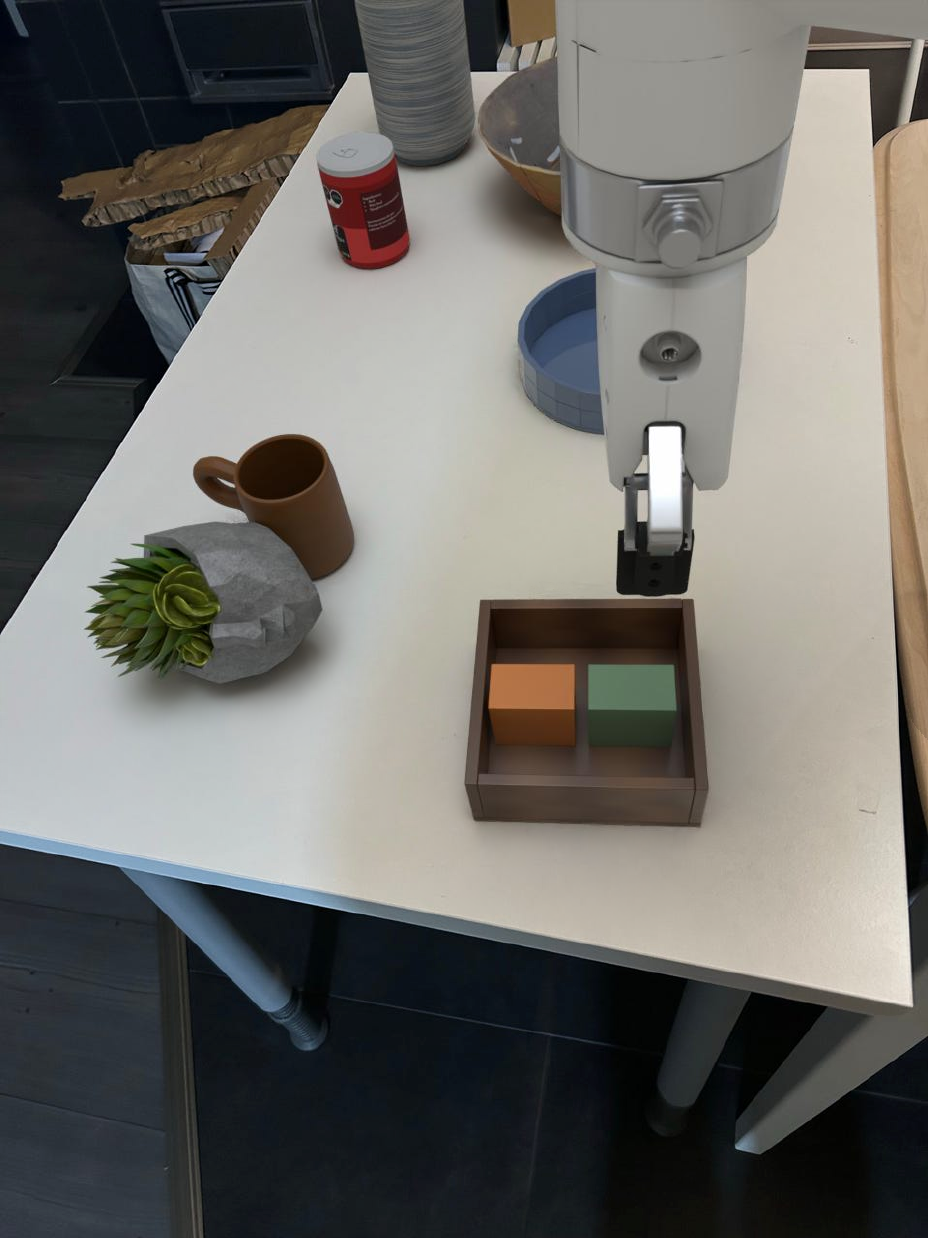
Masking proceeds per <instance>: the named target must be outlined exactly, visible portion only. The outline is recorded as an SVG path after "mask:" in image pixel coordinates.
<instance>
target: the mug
mask: <svg viewBox="0 0 928 1238" xmlns="http://www.w3.org/2000/svg"><path fill="white" fill-rule="evenodd" d="M192 477H193V479H194V482H195V484H196V486H197V487H198V489H199V490H200V491H201V492H202V493H203V494H204V495H205V496H207V497H208V498H209V499H210V500H212V501H213V502H214V503H217V504H219V505H221V506H224V507H226V508H230V509H232V510H233V509H234V510H238V511H239V512H242V513H243V514H244V515H245V516H246V519H247V522H255V523H258V524H260V525H263V526H265V527H267V528H269V529H270V530H271V531H272V532H273V533H275V534H276V535H277V536H278V537H279V538H280V539H281V540H282V541H283V542H285V543H286V544H287V545H288V546H289V547H290V548H291V549H292V550H293V552H294V553H295V555H296V556H297V558H298V559H299V561H300V563H301V564H302V566H303V567H304V569H305V570H306V572H307V574H308V575H309V577H310V579H311V580H313V579H317V578H321V577H324V576H326V575H329V574H330V573H332V572H333V571H335V570H337V569H338V568H340V566H341V565H342V564H343V563H345V561H346V560H347V559H348V557H349V555H350V554H351V552H352V549H353V547H354V540H355V533H354V528H353V524H352V521H351V518H350V514H349V510H348V508H347V503H346V501H345V498H344V494H343V492H342V488H341V486H340V482H339V479H338V476H337V472H336V469H335V466H334V465H333V463H332V460H331V459H330V455H329V453H328V451H327V450H326V448H325V447H324V445H322V444H321V443H320V442H319V441H317V439H314V438H312V437H310V436H307V435H304V434H299V433H298V434H297V433H285V434H278V435H273V436H271V437H267V438H265V439H263V440H260V441H259V442H257V443H256V444H253V445H252V446H251V447H249V448H248V449H247V450H246V451H245V452H244V453H243V454H242V455H241V456H240V458H239V459H238V461H237V462H235V461H232V460H229V459H227V458H225V457H221V456H216V455H209V456H204V457H201V458H199V459H198V461H196V462H195V464H194V465H193V469H192ZM225 482H227V483H229V484H232V485H234V486H230V485H229V484H226V483H225Z"/></svg>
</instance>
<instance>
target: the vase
mask: <svg viewBox="0 0 928 1238" xmlns="http://www.w3.org/2000/svg"><path fill="white" fill-rule="evenodd" d="M353 1H354V6H355V12H356V16H357V22H358V28H359V32H360V38H361V43H362V48H363V54H364V60H365V64H366V65H365V66H366V69H367V75H368V80H369V85H370V90H371V97H372V101H373V106H374V112H375V117H376V122H377V123H376V124H377V128H378V134H381V135H384V136H385V137H387V138H388V139H389V140H391V142H392V144H393V148H394V152H395V157H396V158H397V159H399V161H401V162H403V163H405V164H407V165H411V166H418V167H426V166H434V165H439V164H442V163H445V162H449V161H450V160H452V159H454V158H455V157H457V156H458V155H459V154H461V152H462V151H463V150H464V149H465V146H466V143H467V142H468V140H469V139H470V138H471V136H472V134H473V131H474V128H475V125H476V112H475V101H474V93H473V84H472V83H473V82H472V73H471V72H472V71H471V63H470V53H469V45H468V36H467V35H468V34H467V26H466V16H465V6H464V0H353Z"/></svg>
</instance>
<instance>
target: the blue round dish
mask: <svg viewBox="0 0 928 1238" xmlns="http://www.w3.org/2000/svg"><path fill="white" fill-rule="evenodd" d="M517 326H518V327H517V351H518V362H519V363H518V364H519V374H520V379H521V382H522V387H523V389H524V391H525V393H526V396H527V397H528V399H529V400H530V401H531V403H532V404H533V405H534V406H535V407H536V408H537V409H538V410H539V411H540V412H542V413H543V414H544V415H546V416H547V417H548V418H550V419H552V420H553V421H554V422H557V423H558V424H561V425H564V426H566V427H568V428H571V429H574V430H578V431H581V432H584V433H585V432H586V433H591V434H597V435H604V425H603V416H602V405H601V392H600V379H599V362H598V340H597V311H596V267H594V268H588V269H584V270H580V271H577V272H575V273H573V274H570V275H568V276H565V277H562V278H560V279H557V280H556V281H555V282H553V283H552V284H550V285H549V286H547V287H545V288H544V289H542V290H540V291H539V292H538V293H537V294H536V295H535V297H533V299H532V300H531V301H530V302H529V303H528V304H527V305H526V306H525V309H524V310H523V312H522V314H521V316H520V318H519V321H518V325H517Z"/></svg>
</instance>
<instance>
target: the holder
mask: <svg viewBox="0 0 928 1238" xmlns="http://www.w3.org/2000/svg"><path fill="white" fill-rule="evenodd" d="M478 606H479V607H478V617H477V618H478V619H477V629H476V640H475V641H476V642H475V654H474V665H473V666H474V667H473V677H472V690H471V699H470V700H471V701H470V711H469V713H470V714H469V723H468V724H469V725H468V737H467V748H466V760H465V771H464V783H463V784H464V787H465V792H466V795H467V799H468V800H467V801H468V803H469V807H470V811H471V815H472V818H473V821H475V822H478V821H479V822H509V823H539V824H541V823H543V824H546V823H547V824H576V825H577V824H578V825H581V824H582V825H612V826H649V827H650V826H651V827H681V828H683V827H684V828H685V827H686V828H701V826H702V821H703V816H704V814H705V813H704V812H705V809H706V808H705V807H706V804H707V800H708V795H709V791H710V786H709V785H710V783H709V772H708V761H707V759H708V758H707V747H706V735H705V721H704V712H703V709H704V708H703V696H702V685H701V683H702V682H701V673H700V661H699V649H698V634H697V623H696V622H697V621H696V612H695V599H694V598H682V597H681V598H521V599H520V598H515V599H507V598H506V599H504V598H503V599H499V598H498V599H496V598H495V599H480V600H479V605H478ZM492 664H574V665H575V684H576V745H575V746H563V745H502V744H495V740H494V735H493V730H492V724H491V719H490V714H489V694H490V680H491V666H492ZM588 665H674V674H675V690H676V706H677V712H676V718H675V725H674V732H673V739H672V746H671V747H624V746H589V744H588Z"/></svg>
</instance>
